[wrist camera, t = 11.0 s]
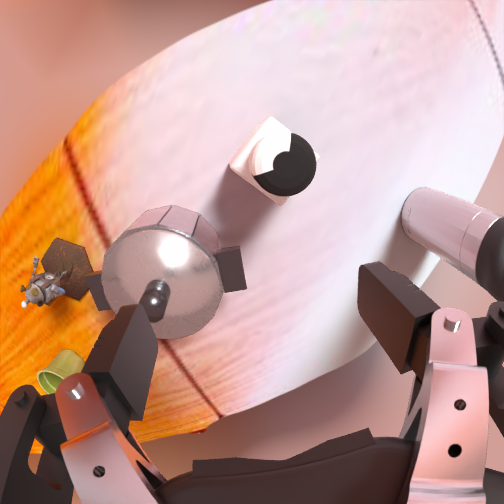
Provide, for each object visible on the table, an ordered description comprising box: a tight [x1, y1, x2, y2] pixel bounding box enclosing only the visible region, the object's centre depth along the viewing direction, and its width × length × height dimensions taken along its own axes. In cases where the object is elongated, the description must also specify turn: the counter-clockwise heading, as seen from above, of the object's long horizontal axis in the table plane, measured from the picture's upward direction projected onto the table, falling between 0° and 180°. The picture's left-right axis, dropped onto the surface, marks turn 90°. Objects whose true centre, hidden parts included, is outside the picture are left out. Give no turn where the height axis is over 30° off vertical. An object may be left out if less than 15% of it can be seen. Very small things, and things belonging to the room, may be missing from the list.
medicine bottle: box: [229, 117, 320, 205], centre depth 29 cm, size 7×7×12 cm
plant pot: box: [37, 349, 85, 394], centre depth 40 cm, size 9×9×9 cm
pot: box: [85, 205, 247, 319], centre depth 34 cm, size 19×14×9 cm
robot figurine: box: [21, 238, 93, 308], centre depth 32 cm, size 11×9×12 cm
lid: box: [102, 229, 220, 339], centre depth 28 cm, size 14×14×5 cm
